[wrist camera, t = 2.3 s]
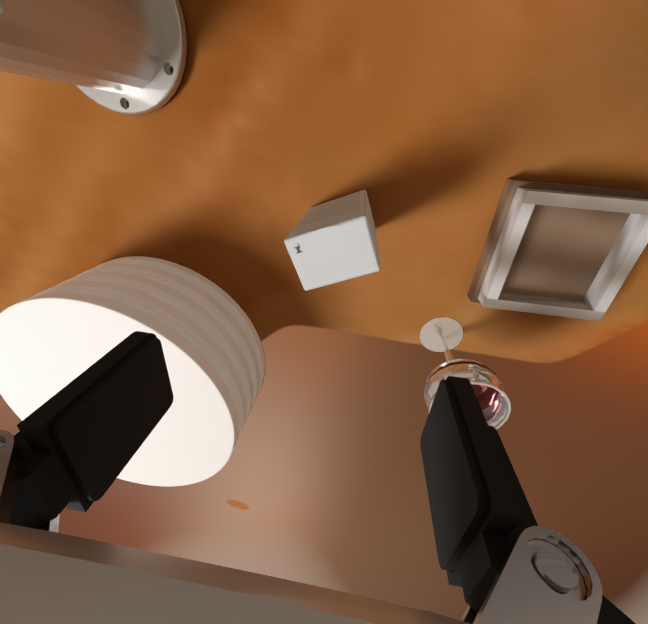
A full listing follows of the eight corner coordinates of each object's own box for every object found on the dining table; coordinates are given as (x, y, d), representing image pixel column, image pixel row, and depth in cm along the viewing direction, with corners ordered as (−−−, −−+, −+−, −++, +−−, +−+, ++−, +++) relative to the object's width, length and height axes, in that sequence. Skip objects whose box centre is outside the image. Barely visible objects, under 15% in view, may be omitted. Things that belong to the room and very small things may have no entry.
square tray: (507, 178, 28) (523, 183, 25) (647, 191, 27) (682, 197, 24) (467, 295, 34) (477, 310, 31) (581, 309, 33) (602, 326, 30)
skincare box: (323, 245, 33) (302, 293, 23) (309, 206, 32) (280, 239, 21) (378, 229, 32) (381, 272, 22) (367, 187, 30) (366, 212, 20)
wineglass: (400, 332, 38) (411, 406, 27) (448, 299, 35) (481, 368, 24) (434, 366, 39) (458, 447, 29) (483, 337, 36) (528, 416, 26)
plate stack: (51, 234, 37) (-64, 268, 28) (274, 283, 37) (238, 336, 27) (96, 396, 51) (31, 458, 42) (258, 434, 51) (231, 506, 41)
